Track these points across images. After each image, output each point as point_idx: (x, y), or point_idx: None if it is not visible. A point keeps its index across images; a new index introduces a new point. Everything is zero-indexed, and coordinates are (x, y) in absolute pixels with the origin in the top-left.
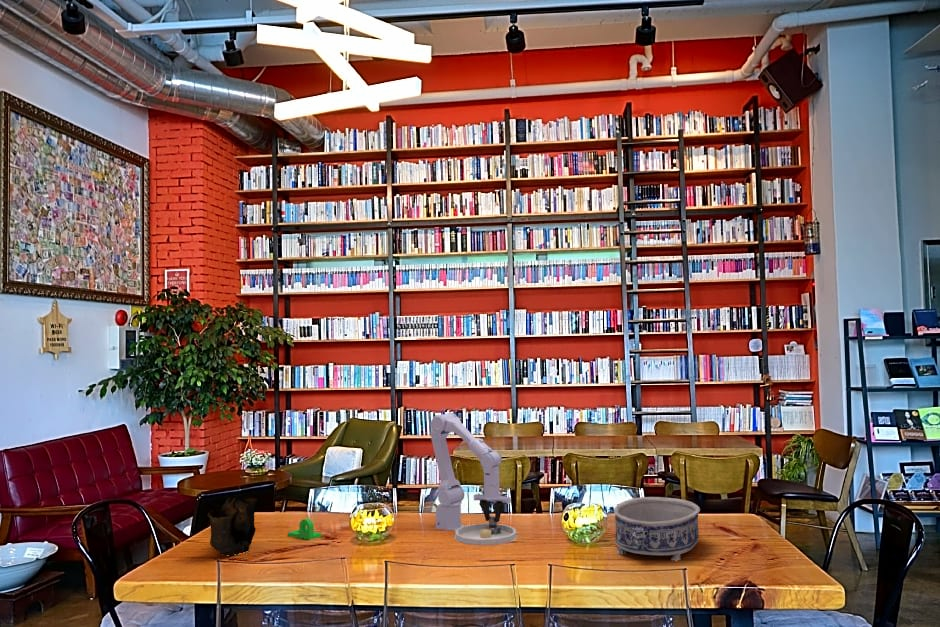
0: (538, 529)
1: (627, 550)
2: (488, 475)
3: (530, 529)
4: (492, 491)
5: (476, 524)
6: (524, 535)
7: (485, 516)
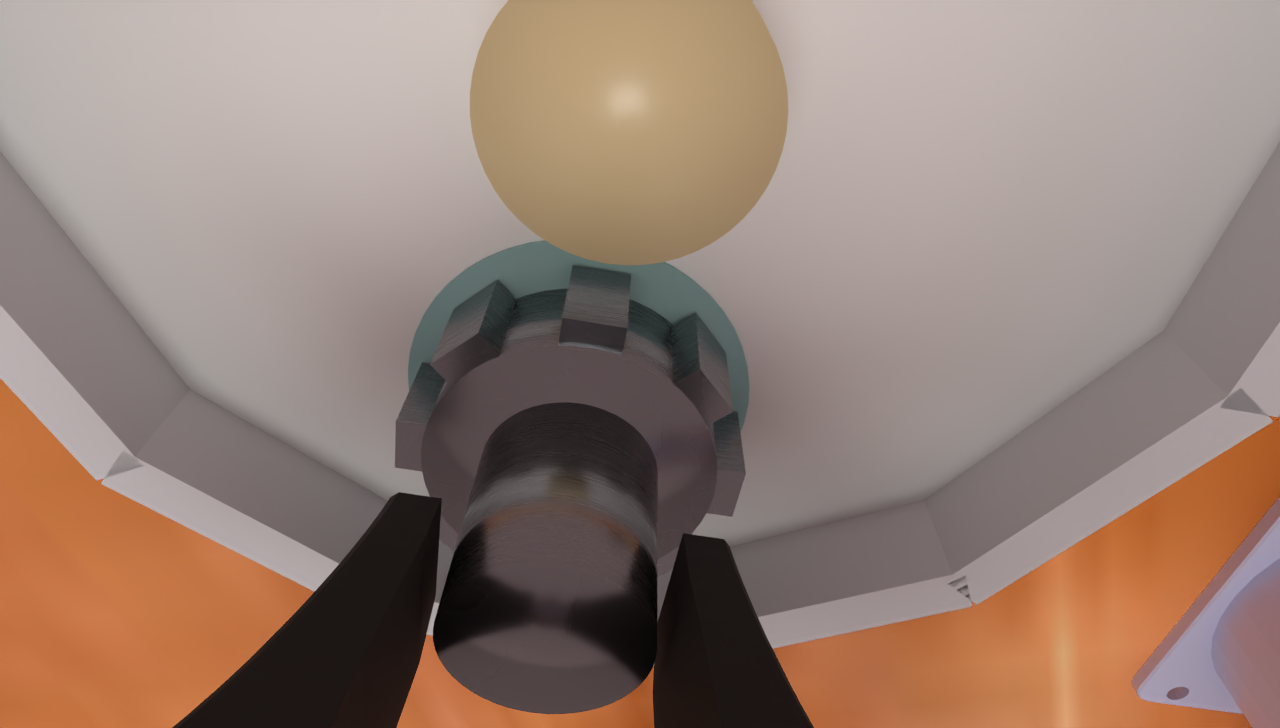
0: (31, 690)
1: None
2: None
3: (133, 677)
4: None
5: (958, 576)
6: (11, 413)
7: (735, 621)
